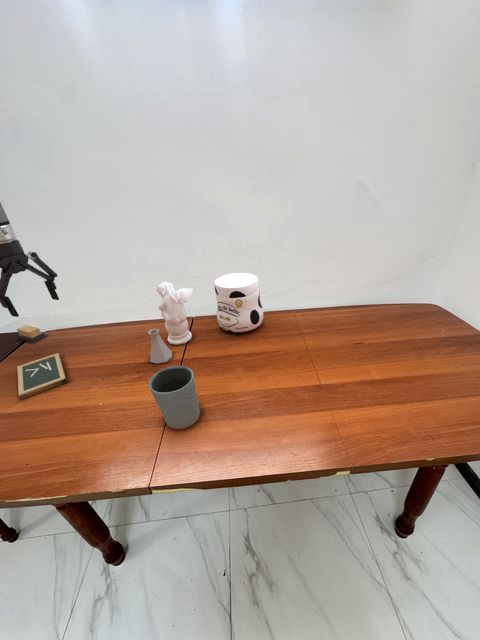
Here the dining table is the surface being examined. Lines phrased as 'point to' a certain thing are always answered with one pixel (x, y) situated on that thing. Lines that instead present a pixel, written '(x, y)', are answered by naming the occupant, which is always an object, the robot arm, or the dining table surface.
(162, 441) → the dining table surface
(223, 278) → the milk container
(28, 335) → the eraser
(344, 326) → the dining table surface
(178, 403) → the grey cup
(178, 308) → the cherub figurine
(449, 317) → the dining table surface
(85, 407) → the dining table surface
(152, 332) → the flask
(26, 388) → the slate
